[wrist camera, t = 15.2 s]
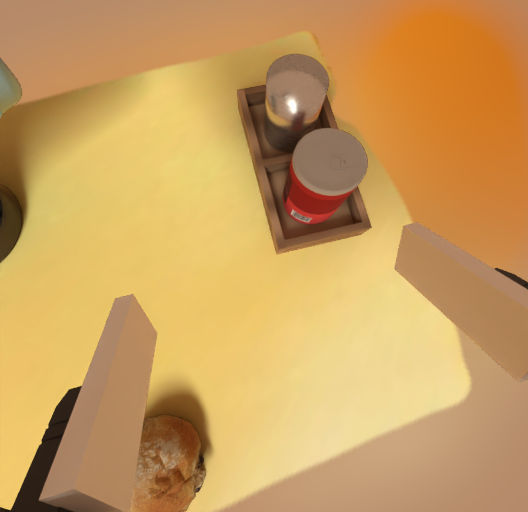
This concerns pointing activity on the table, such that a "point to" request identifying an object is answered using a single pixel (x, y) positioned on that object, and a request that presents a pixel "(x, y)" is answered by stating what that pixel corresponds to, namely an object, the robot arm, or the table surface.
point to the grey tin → (293, 100)
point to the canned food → (323, 174)
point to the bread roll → (167, 466)
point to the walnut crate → (274, 178)
